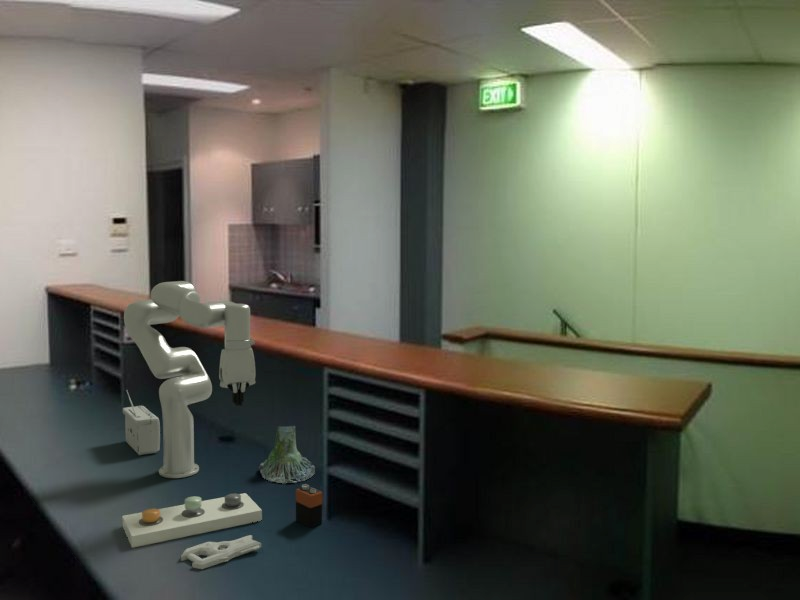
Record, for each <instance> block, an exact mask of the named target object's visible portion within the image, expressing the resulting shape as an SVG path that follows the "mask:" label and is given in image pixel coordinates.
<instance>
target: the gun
mask: <svg viewBox="0 0 800 600" xmlns="http://www.w3.org/2000/svg"><path fill="white" fill-rule="evenodd" d="M260 548H262V542H260V541H257V540H255V539H253V535H251V534H250V535H246V536H242V537H240V538H237V539H233V540H229V541H228V540H227V541H226V540H223V541H218V542H216V541H206V542H203V543H200V544H197V545H194V546H192V547H187V548H186V549H184V550H183V553H182V554H181V556H180V562H183V561H186V560H189V561H191V562H192V563H191V564H192V565H191V566H192V568H194V569H198V570H203V569H204V570H205V569H208V568H210V567H213V566H215V565H219V564H222V563H225V562H229V561H230V560H232V559H234V558H237V557H240V556H242V555H244V554H248V553H252V552H254V551H257V550H259V549H260ZM200 556H206V557H203V558H201V557H200Z"/></svg>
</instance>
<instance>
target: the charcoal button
mask: <svg viewBox="0 0 800 600" xmlns="http://www.w3.org/2000/svg"><path fill="white" fill-rule="evenodd" d="M240 494H241V493H229V494H228V493H227V495H224V497H225V505H226V506H229V507H233V506H238V505H240V504H241V495H240Z"/></svg>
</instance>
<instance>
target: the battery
mask: <svg viewBox="0 0 800 600" xmlns="http://www.w3.org/2000/svg"><path fill="white" fill-rule="evenodd" d="M295 520H296V522H299V523H301V524H303V525H304V526H306V527H308V528H312V527H315V526H318V525H320V524H322V523H323V492H322V491H321V490H318V489H316V488H314V487H312V486H310V485H309V484H307V483H304V484H301V487H298V488H296V489H295Z"/></svg>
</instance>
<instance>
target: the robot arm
mask: <svg viewBox="0 0 800 600" xmlns="http://www.w3.org/2000/svg"><path fill="white" fill-rule="evenodd" d="M150 298H151V299H150ZM150 298H149V299H140V300H137V301H133V302H131V303H129V304H128V305H127V306H126V308H125V309H124V312H123V321H124V322H123V323H124V327H125V329H126V332H127V333H128V335H129V337H130V338H131V339H132V341H133V342H134V344H136V346H137V347H138V349H139V351H140V353H141V354H142V356H143V358H144V360H145V361H146V364H147V366H148V367H149V370H150V372H151V374H153V376H154V377H155V378H156V379H159V380H163V379H164V380H165V379H166V380H165V381H163V382H162V384H161V385H160V386H159V389H158V396H159V397H158V398H159V400H160V401H159V402H160V406H161V412H162V432H163V433H162V436H163V437H162V438H163V439H162V443H163V444H162V446H163V450H162V451H163V465H162V466H161V467H160V468H159V469H158V475H160V476H161V477H162V478H163V477H164V478H167V479H181V478H187V477H191V476H193V475H195V474H197V473H198V472H199V471H200V467H199V465H198V464H197V463H195V440H194V439H195V436H194V435H195V432H194V429H195V428H194V425H195V424H194V415H193V414H192V412H191V411H190V409H189V407H188V406H189V405H191V404H195V403H199V402H203V401H205V400H208V399H209V398H210V397H211V395H212V392H213V385H212V382H211V379H210V376H209V375H208V373H207V371H206V369H205V367H204V366H203V364H202V362H201V359H200V358H199V356H198V355H197V354H196V352H195V351H194V350H192V348H190V347H186V346H179V347H171V346H170V345H169V344H168V342H167V341H166V338H165V337H164V335H162V333H160V332H159V331H158V330H157V329H155V328H154V327H152V326H151V325H158V324H168V323H171V322H174V321H176V320H177V319H179V318H181V321H182V322H184V323H185V324H187V325H191V326H193V327H195V328H201V329H209V328H215V327H224V348H222V349H221V353H220V360H219V369H218V370H219V371H218V373H219V374H218V377H219V379H218V380H220V382H219V387H221V388H225V389H228V390H230V392H231V393H232V394H231V395H232V396H231V398H232V399H231V402H232V403H233V404H234V405H235V406H236V407H239V406H240V407H241V406H243V403H244V401H245V400H244V392H246V390H247V388H248V387H250V386H253V385H255V384H256V361H255V355H254V351H253V348H252V346H253V345H256V344H255V343H256V340H255V339H254V340H253V339H252V338H251V307H250V306H249V305H248V304H245V303H236V302H234V301H230V300H229V301H228V300H221V301H210V302H201V299H200V298H201V297H200V295H199V293H198V292H197V291H196V288H195V286H194V285H193V284H192V283H191V282H189V281H186V280H177V281H165V282H160V283H158V284H156V285H154V287H152V289H151V291H150ZM237 384H238V386H237Z"/></svg>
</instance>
